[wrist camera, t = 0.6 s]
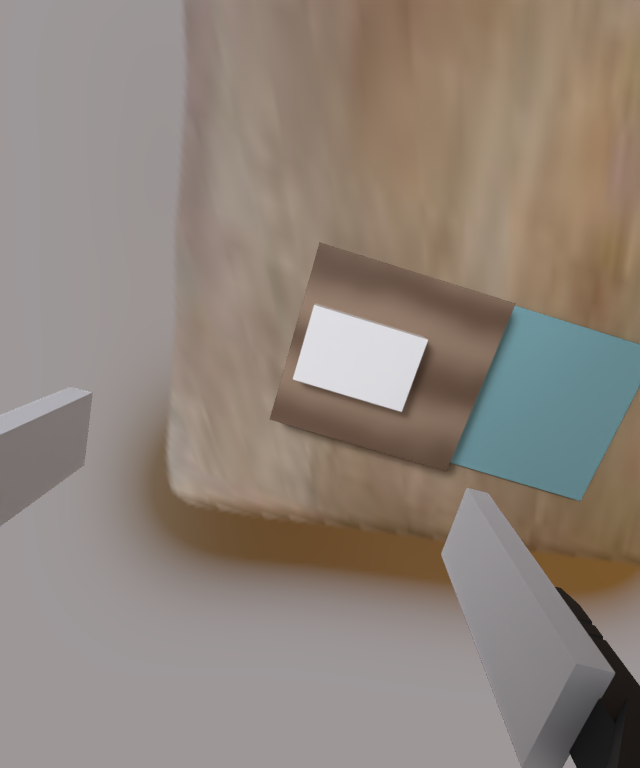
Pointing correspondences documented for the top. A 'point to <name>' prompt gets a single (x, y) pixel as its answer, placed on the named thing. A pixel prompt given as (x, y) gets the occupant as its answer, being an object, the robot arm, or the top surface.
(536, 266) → the top surface
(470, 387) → the brown wooden flat block
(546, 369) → the mat
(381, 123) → the top surface
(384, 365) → the white slab
